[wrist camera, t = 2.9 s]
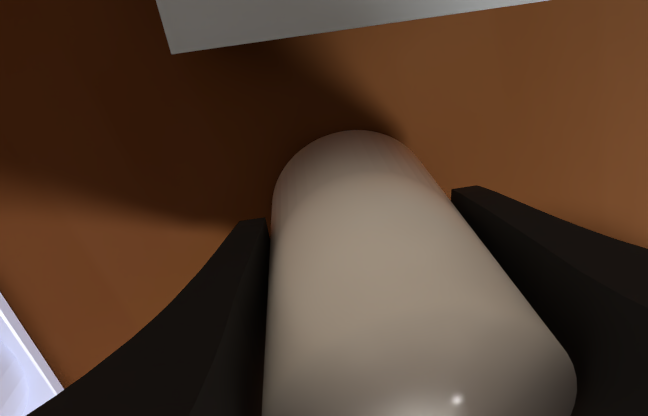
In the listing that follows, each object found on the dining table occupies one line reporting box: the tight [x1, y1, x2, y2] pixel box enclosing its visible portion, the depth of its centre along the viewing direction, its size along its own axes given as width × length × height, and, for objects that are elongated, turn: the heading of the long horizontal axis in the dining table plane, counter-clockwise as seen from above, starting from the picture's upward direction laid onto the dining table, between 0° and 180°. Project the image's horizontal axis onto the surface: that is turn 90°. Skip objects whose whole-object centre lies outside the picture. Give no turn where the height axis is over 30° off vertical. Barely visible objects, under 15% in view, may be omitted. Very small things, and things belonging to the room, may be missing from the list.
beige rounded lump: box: [262, 130, 577, 416], centre depth 9 cm, size 4×4×6 cm
